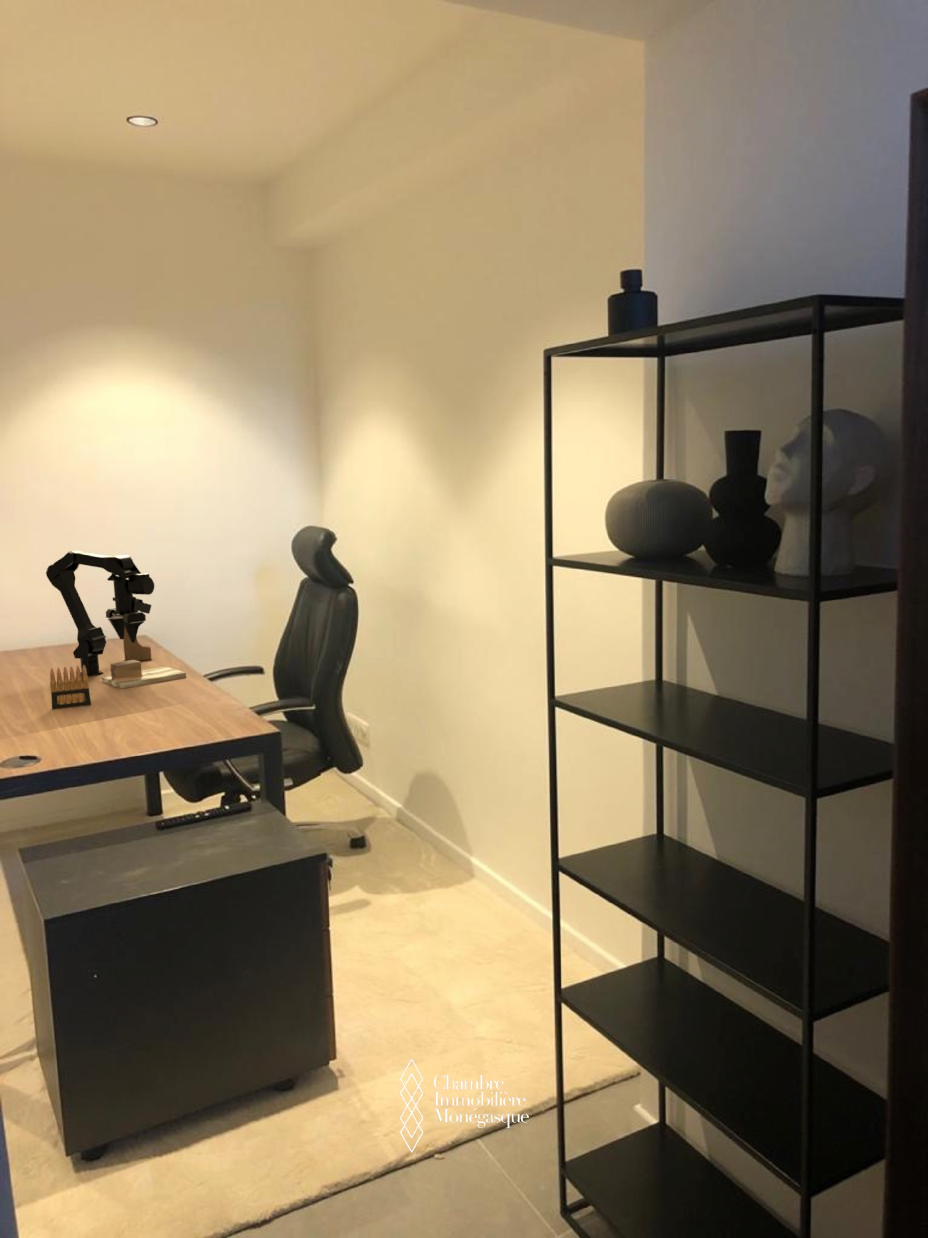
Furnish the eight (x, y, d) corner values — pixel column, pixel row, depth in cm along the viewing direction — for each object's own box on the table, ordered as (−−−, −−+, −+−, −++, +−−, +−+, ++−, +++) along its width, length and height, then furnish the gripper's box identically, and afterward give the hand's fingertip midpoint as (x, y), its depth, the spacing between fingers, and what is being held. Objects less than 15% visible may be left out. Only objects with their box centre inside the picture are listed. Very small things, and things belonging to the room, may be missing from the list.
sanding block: (111, 678, 327) (110, 663, 326) (135, 674, 332) (134, 659, 332) (117, 681, 324) (116, 665, 323) (141, 676, 329) (140, 661, 328)
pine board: (102, 681, 330) (102, 677, 330) (166, 670, 345) (165, 666, 344) (121, 688, 319) (120, 683, 319) (186, 677, 334) (185, 672, 333)
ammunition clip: (90, 703, 300) (87, 664, 298) (91, 705, 299) (87, 665, 297) (52, 708, 296) (48, 668, 294) (52, 709, 295) (48, 669, 293)
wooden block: (150, 657, 370) (146, 608, 367) (151, 659, 366) (147, 610, 363) (124, 659, 367) (120, 610, 364) (125, 662, 363) (121, 612, 360)
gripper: (159, 593, 331) (162, 640, 334) (135, 589, 345) (139, 634, 348) (126, 597, 324) (130, 645, 327) (103, 592, 338) (107, 638, 341)
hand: (127, 640), depth 336 cm, fingers open, 9 cm apart
